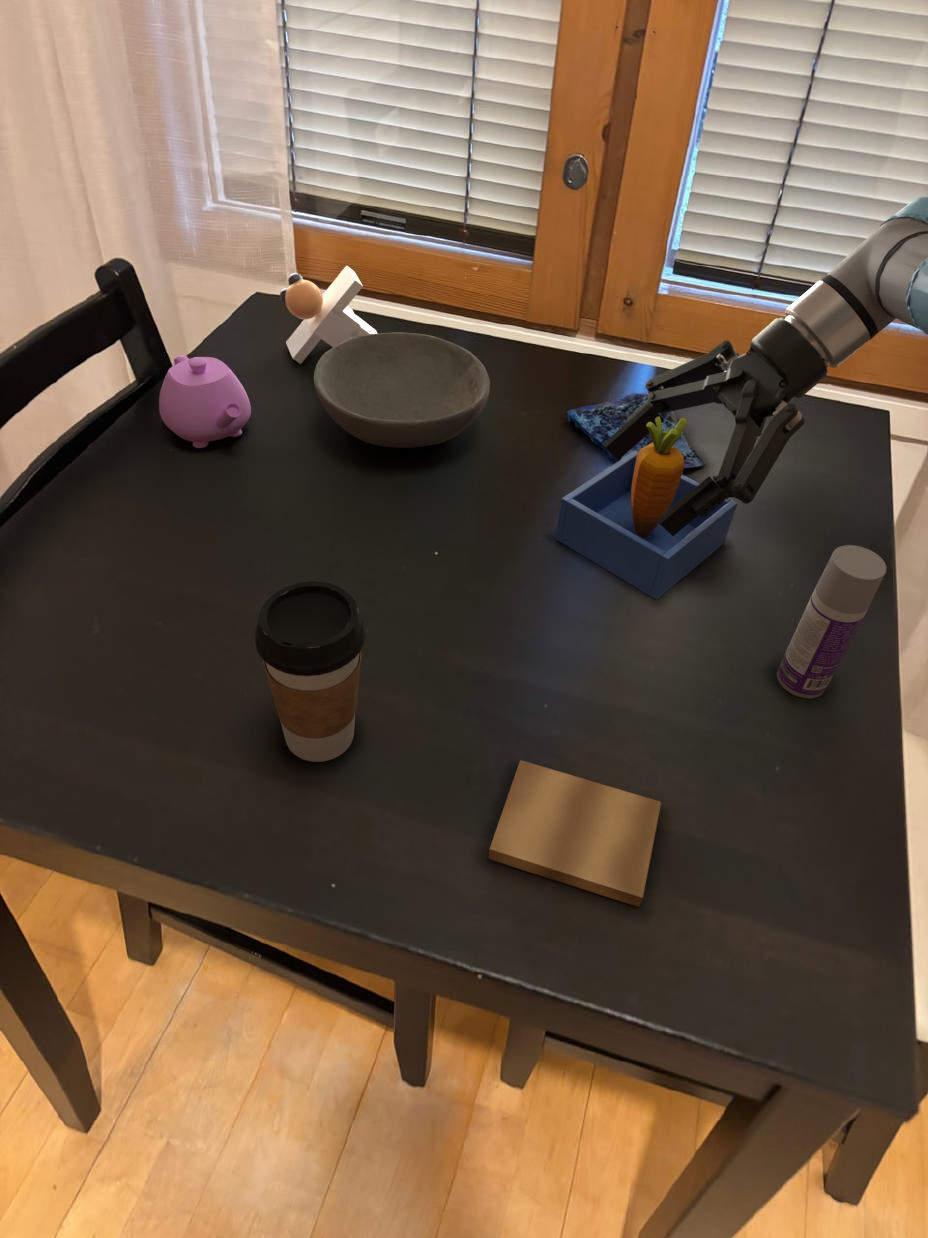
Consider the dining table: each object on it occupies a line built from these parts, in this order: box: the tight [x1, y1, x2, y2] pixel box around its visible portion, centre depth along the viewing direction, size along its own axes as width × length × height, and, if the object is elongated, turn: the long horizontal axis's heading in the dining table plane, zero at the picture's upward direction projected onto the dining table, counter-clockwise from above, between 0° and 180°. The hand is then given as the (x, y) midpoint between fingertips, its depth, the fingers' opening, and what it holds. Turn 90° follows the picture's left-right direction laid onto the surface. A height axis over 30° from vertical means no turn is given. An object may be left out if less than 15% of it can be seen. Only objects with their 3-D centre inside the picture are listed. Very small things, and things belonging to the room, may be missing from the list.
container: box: [776, 544, 887, 699], centre depth 79 cm, size 5×5×15 cm
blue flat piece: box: [566, 392, 706, 469], centre depth 112 cm, size 15×17×2 cm
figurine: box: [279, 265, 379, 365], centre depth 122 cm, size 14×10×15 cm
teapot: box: [158, 354, 252, 449], centre depth 105 cm, size 10×15×9 cm
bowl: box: [313, 331, 491, 449], centre depth 109 cm, size 21×21×8 cm
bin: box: [554, 451, 739, 600], centre depth 96 cm, size 14×14×6 cm
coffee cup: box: [254, 580, 366, 763], centre depth 71 cm, size 8×8×15 cm
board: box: [487, 759, 662, 908], centre depth 70 cm, size 12×9×2 cm
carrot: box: [631, 417, 688, 537], centre depth 93 cm, size 5×5×15 cm
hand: (635, 488), depth 93 cm, fingers open, 13 cm apart
